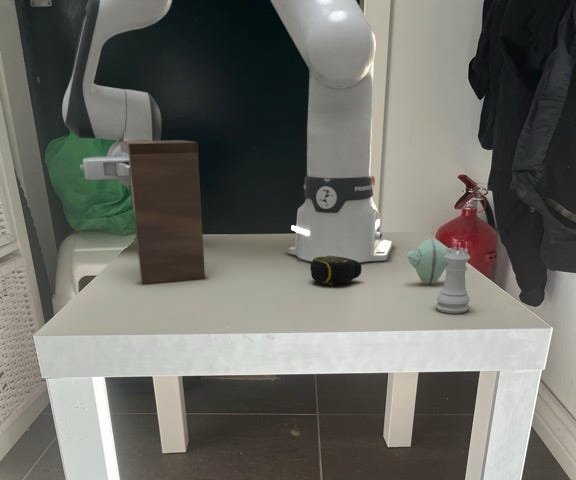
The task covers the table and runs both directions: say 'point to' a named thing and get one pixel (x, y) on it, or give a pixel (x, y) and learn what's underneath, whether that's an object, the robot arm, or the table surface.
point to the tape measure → (334, 269)
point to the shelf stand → (166, 209)
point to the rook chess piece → (454, 283)
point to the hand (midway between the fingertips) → (145, 170)
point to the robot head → (428, 260)
